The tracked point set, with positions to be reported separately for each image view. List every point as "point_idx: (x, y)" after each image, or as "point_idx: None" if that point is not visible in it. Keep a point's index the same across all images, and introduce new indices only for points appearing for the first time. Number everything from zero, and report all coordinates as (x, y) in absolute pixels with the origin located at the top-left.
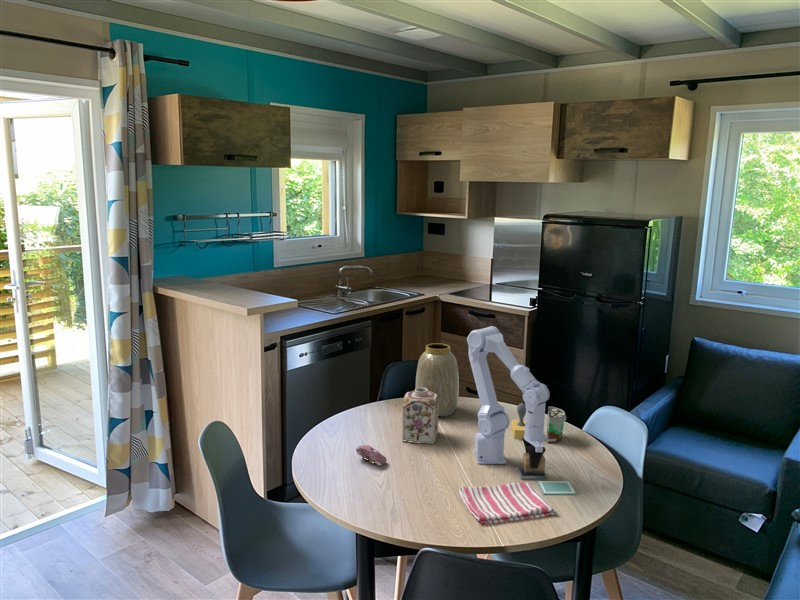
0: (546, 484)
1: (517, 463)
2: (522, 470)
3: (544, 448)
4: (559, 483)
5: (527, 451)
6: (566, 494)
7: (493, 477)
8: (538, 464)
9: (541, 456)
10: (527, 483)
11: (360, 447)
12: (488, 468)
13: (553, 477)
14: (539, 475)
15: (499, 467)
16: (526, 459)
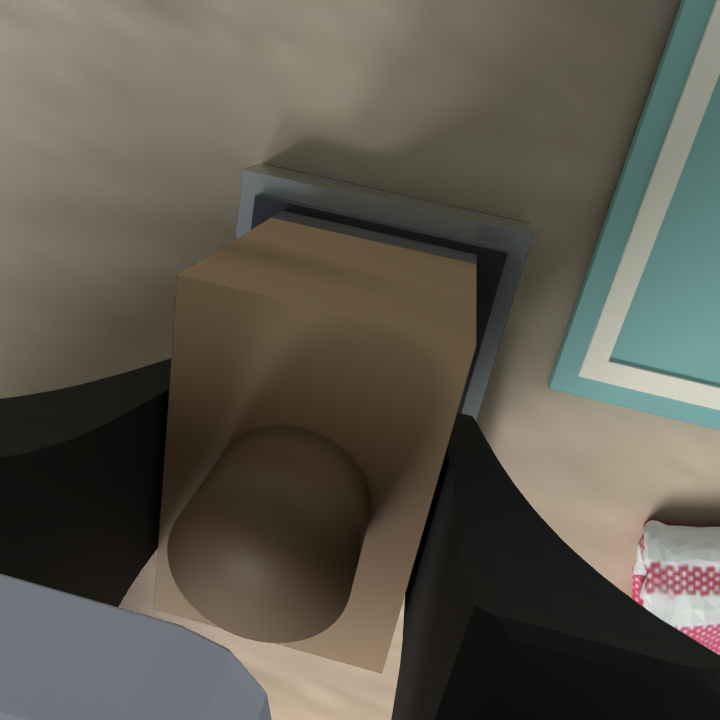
0: (687, 315)
1: (45, 374)
2: None
3: (643, 699)
4: None
5: (136, 563)
6: None
7: (335, 711)
8: (486, 446)
9: (577, 559)
10: (676, 599)
11: None
12: None
13: (490, 85)
14: (485, 335)
15: (137, 581)
16: (387, 653)
